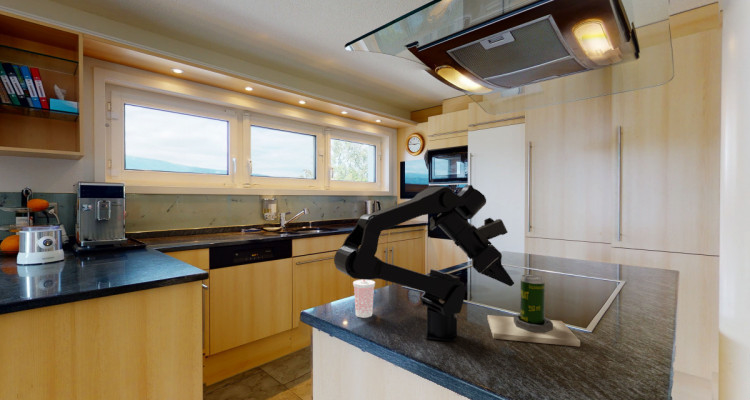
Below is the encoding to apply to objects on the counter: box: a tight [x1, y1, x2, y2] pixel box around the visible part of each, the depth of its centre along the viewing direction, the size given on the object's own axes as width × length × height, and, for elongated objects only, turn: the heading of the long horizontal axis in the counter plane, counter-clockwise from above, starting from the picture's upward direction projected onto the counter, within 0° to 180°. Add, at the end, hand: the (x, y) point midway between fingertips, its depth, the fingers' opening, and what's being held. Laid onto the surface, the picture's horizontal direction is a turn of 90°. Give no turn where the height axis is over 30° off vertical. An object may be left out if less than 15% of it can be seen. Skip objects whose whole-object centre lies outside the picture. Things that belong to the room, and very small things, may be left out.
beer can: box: [519, 274, 546, 325], centre depth 80 cm, size 5×5×12 cm
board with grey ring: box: [487, 313, 581, 347], centre depth 79 cm, size 18×12×3 cm, turn 77°
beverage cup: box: [352, 279, 376, 319], centre depth 90 cm, size 6×6×14 cm
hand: (508, 279), depth 76 cm, fingers open, 9 cm apart
